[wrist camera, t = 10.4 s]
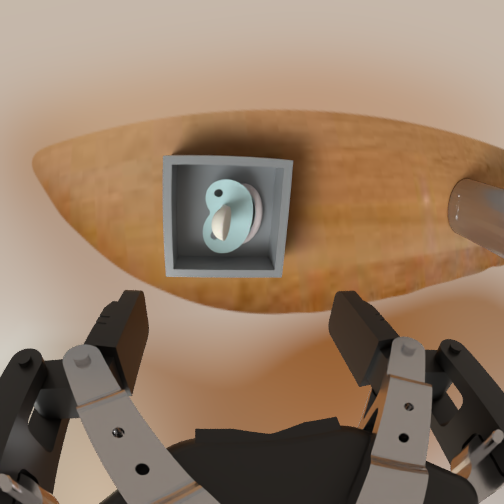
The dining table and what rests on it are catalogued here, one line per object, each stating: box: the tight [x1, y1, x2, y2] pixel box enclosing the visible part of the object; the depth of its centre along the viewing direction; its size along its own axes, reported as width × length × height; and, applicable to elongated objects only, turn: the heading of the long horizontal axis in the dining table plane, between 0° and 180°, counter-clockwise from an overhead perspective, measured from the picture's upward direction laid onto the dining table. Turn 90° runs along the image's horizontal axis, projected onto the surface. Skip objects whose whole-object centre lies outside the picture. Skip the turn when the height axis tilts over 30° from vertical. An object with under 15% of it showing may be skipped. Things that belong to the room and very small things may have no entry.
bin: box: [163, 155, 293, 277], centre depth 27 cm, size 12×12×4 cm
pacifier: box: [203, 179, 263, 253], centre depth 25 cm, size 7×6×6 cm
